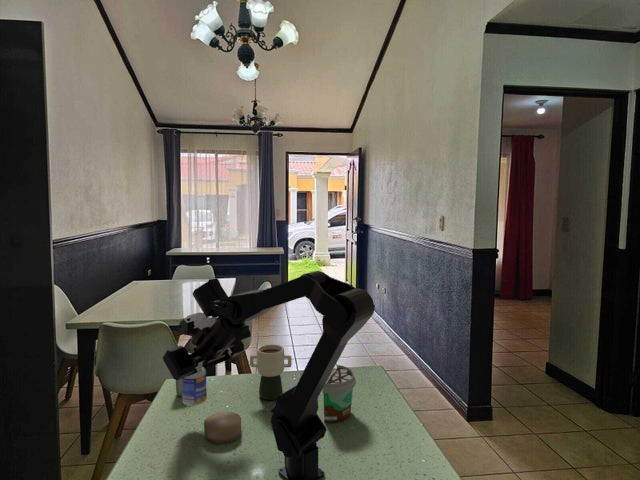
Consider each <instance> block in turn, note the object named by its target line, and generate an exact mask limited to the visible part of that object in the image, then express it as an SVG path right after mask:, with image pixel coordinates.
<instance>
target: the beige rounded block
mask: <svg viewBox="0 0 640 480" xmlns="http://www.w3.org/2000/svg"><path fill="white" fill-rule="evenodd" d="M175 390H176V392H175V393H176V396H177V397H182V379H180V380H175Z"/></svg>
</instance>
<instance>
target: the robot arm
mask: <svg viewBox="0 0 640 480" xmlns="http://www.w3.org/2000/svg"><path fill="white" fill-rule="evenodd" d="M192 297H193V299H194V300H195V301H196V303H197V305H198V307H200V310H201V312H195V313H193V314H189V315H187V316H186V317H183V318H182V320H181V321H179V324H178V330H179V331H180V332H181V333H182V334H183V335H184V336H187V335H190V337H191V338H192V339H191V340H190V341H191V343H192V345H193V346H196V347H194V348H193V349H192V351H193V352H192V353H188V350H187V348H186V347H185V346H183V345H179V346H175V347H172V348H169V349H167V350H166V351H165V353H164V354H163V355H162V360H163V363H164V364H165V366H166V367H167V369H168V371H169V373H170V374H171V377H172V378H173V380H175V381H176V380H180V379H182V378H184V377H188V376H190V375H193V374H195V373H197V370H196V367H197V366H198V363H201V362H203V365H202V367H204V368H205V369H207V368H210V367H212V366H215V365H219V364H221V363H224V362H226V361H228V360H230V359H231V358H234V357H237V356H239V355H241V354H242V353H243V352H244V350H245V344H244V342H243V341H244V340H246V339H248V338H251V336H252V333H251V330H250V326H249V325H247V324H246V322H248V321H251V320H255V319H258V318H260V317H261V316H264V314H267V313H268V312H269V311H270V310H271V309H273V308H274V307H277V306H280V305H283V304H286V303H289V302H292V301H295V300H298V299H301V298H304V297H305V298H306V299H308V301H309V302H310V303H311V305H312V307H313V308H314V311H316V312H318V313H319V314H320V315H322V319H321V320H322V334H321V336H320V338H319V340H318V341H317V344H316V346H315V348H314V350H313V352H312V353H311V356H310V357H309V359H308V362H307V364H306V365H305V368H304V369H303V371H302V373H301V376H300V378H299V379H298V381H297V383H296V385H295V386H292V387H291V388H289V389H288V390H286V391H285V392H284V391H283V394H281V395H279V396H278V398H276V400H275V404H274V407H273V408H272V409H271V410H270V411H269V412H270V413H272V414H271V416H270V424H271V429H272V432H273V437H274V439H275V440H274V441H275V444H276V448H277V450H278V451H279V452H282V454H283V457H284V467H281V468H279V469H278V474H279V475H280V476H281V477H282V478H284V479H285V480H319V479H321V478H323V477H325V473H326V472H325V471H324V470H322V469H321V468H320V467H319V446H317V445H318V444H317V443H318V442H319V441H320V440H321V439H324V437H325V435H326V432H327V427H326V425H325V423H324V421H322V419H321V418H320V416H319V415H318V410H319V399H318V398H319V396H320V395H321V393H322V392H323V387H324V385H325V383H327V382H328V380H329V379H330V377H331V375H332V372H333V371H334V369H335V366H337V363H338V361H339V360H340V357H341V355H342V353H343V352H344V350H345V348H346V346H347V344H348V343H349V341H350V340H351V339H352V338H353V337H354V336H355V335H356V334H357V333H358V332H360V331H361V330H362V328H363V327H364V326H365V324H367V323H368V322H369V320H370V319H371V318H372V317H373V315H374V313H375V309H376V308H375V307H376V305H375V304H374V300H373V298H372V296H371V294H370V293H369V292H368V291H366V289H363V288H356V287H355V286H353V285H352V284H350V283H347V282H345V281H343V280H339V279H337V278H334V277H332V276H329V275H328V274H327V273H325V272H322V271H320V270H315V271H314V270H313V271H311V272H305V273H302V274H300V276H299V277H296V278H293V279H291V280H287V281H284V282H282V283H280V284H277V285H275V286H271V287H268V288H266V289H254V290H249V291H246V292H241V293H238V294H233V295H229V296H228V294H227V292H226V291H225V289H224V287H223V286H222V284H221V282H220V280H219V279H218V278H217V277H214V278H210V279H208V280H207V281H206V282H205V283H203V284H201V285H199V286H198V287H197V288H195V289H194V290H193V292H192ZM210 317H211V318H212V319H215V320H214V321H213V320H212V319H211V318H210ZM229 349H230V350H229ZM230 351H231V353H229V352H230Z"/></svg>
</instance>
